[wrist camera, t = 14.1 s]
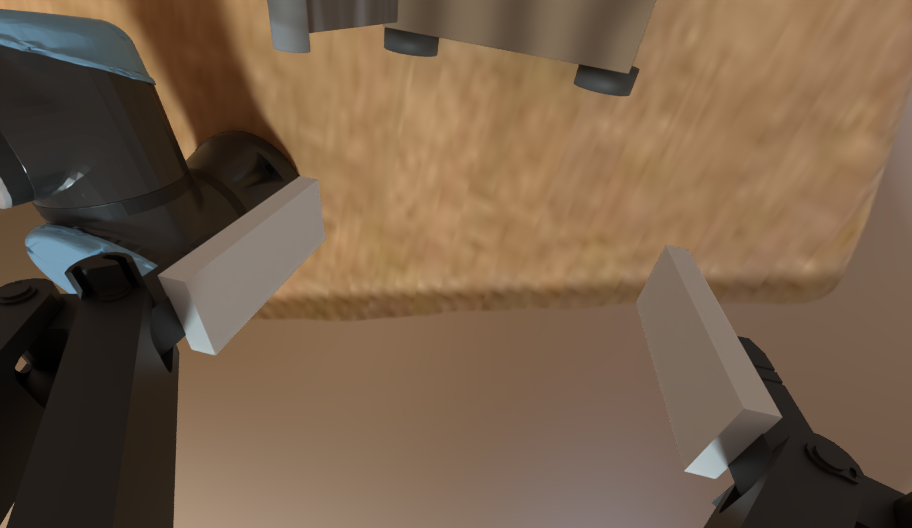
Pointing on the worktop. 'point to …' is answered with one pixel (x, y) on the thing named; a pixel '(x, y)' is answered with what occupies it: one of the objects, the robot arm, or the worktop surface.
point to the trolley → (487, 30)
